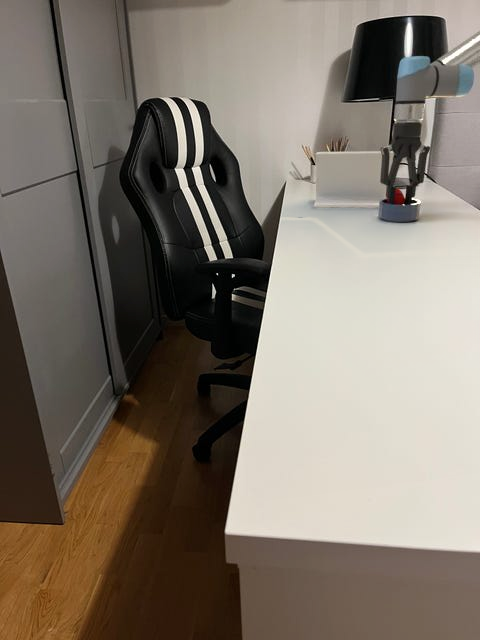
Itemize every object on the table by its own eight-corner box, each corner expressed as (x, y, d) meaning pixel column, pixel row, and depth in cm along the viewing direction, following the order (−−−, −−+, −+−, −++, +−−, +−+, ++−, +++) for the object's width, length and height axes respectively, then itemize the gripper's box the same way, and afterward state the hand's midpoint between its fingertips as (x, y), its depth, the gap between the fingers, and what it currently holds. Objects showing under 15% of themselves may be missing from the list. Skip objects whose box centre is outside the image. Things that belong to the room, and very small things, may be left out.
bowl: (408, 214, 150) (409, 197, 148) (425, 221, 140) (427, 203, 138) (372, 216, 149) (373, 199, 147) (387, 224, 139) (388, 205, 137)
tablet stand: (392, 208, 159) (398, 151, 152) (313, 207, 164) (315, 152, 157) (388, 198, 175) (393, 147, 169) (316, 197, 180) (318, 148, 173)
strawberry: (401, 212, 146) (393, 194, 149) (410, 201, 142) (401, 183, 145) (388, 211, 144) (380, 193, 147) (397, 200, 140) (388, 181, 144)
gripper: (432, 120, 138) (421, 205, 147) (371, 122, 136) (364, 208, 145) (445, 121, 132) (434, 210, 141) (382, 122, 130) (374, 213, 139)
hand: (398, 209), depth 143 cm, fingers closed on strawberry, 4 cm apart
